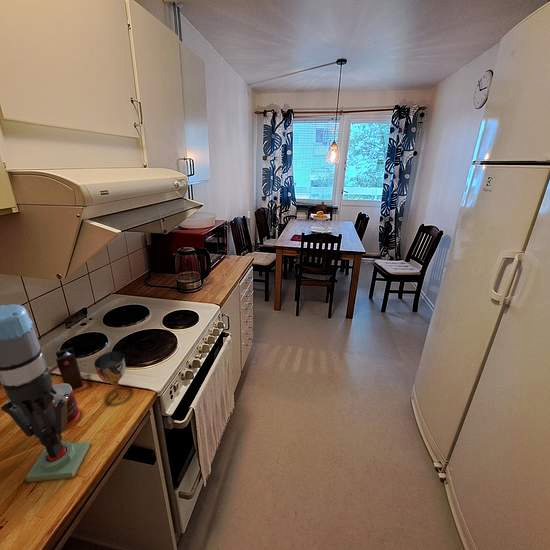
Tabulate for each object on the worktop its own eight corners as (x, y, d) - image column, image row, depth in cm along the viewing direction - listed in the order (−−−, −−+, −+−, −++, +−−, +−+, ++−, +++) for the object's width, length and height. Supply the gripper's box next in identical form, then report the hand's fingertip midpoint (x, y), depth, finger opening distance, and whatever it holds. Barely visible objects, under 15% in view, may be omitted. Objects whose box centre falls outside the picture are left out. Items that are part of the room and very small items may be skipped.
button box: (28, 483, 67) (22, 472, 65) (49, 451, 74) (44, 440, 72) (73, 478, 68) (69, 467, 66) (90, 447, 75) (86, 436, 74)
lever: (35, 392, 86) (24, 387, 84) (35, 385, 89) (25, 380, 87) (75, 360, 90) (65, 354, 88) (74, 355, 93) (65, 349, 91)
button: (45, 465, 68) (43, 460, 67) (54, 451, 71) (52, 446, 71) (61, 464, 68) (59, 459, 68) (70, 450, 72) (68, 445, 71)
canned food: (52, 415, 84) (41, 386, 80) (83, 408, 87) (74, 380, 83) (43, 437, 77) (30, 407, 73) (77, 429, 80) (67, 399, 76)
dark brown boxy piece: (61, 399, 90) (48, 364, 85) (60, 386, 95) (48, 352, 90) (90, 388, 94) (80, 354, 89) (88, 376, 99) (78, 343, 94)
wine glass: (130, 404, 88) (121, 365, 83) (102, 410, 86) (90, 370, 81) (134, 386, 95) (126, 349, 90) (108, 391, 93) (98, 353, 88)
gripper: (68, 361, 64) (92, 435, 73) (5, 365, 63) (37, 440, 72) (47, 385, 58) (77, 464, 66) (-24, 390, 56) (16, 470, 65)
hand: (56, 452), depth 69 cm, fingers closed
